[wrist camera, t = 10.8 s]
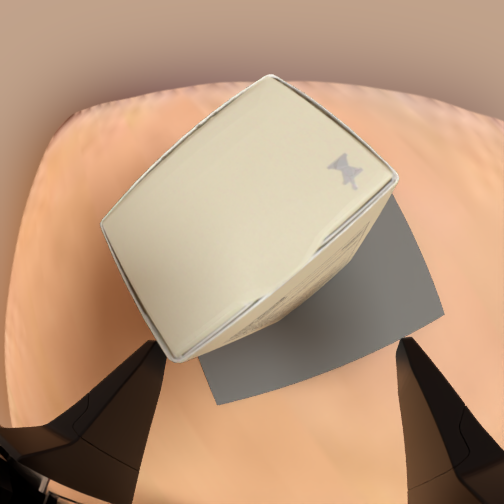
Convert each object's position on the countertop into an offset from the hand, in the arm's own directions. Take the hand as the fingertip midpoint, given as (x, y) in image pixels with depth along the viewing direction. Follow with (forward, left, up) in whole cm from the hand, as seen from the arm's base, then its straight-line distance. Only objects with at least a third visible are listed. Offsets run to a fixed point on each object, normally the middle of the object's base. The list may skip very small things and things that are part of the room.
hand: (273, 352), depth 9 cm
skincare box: (+4, -1, -8) cm, 9 cm away
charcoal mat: (+4, -1, -8) cm, 9 cm away
